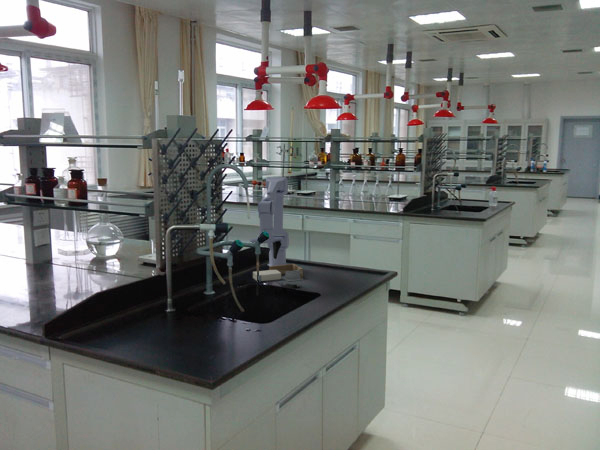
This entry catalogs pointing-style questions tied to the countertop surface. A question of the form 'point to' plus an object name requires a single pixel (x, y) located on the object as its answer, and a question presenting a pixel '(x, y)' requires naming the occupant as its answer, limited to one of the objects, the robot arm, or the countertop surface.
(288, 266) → the brown wooden tray
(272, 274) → the cream rectangular block
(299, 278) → the bookend
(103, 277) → the countertop surface
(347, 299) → the countertop surface
